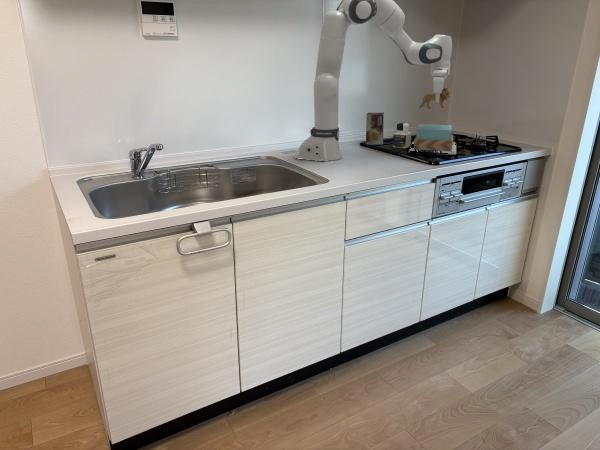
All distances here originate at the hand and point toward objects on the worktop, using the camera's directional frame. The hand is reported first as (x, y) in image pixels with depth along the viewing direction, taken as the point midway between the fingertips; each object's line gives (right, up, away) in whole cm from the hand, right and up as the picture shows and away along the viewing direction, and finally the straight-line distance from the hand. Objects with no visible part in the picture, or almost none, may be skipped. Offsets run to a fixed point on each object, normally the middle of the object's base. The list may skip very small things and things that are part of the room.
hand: (437, 101), depth 215 cm
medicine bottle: (-14, -19, +16) cm, 29 cm away
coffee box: (-27, -16, +25) cm, 40 cm away
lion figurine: (0, -2, +2) cm, 3 cm away
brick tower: (+1, -21, +10) cm, 23 cm away
